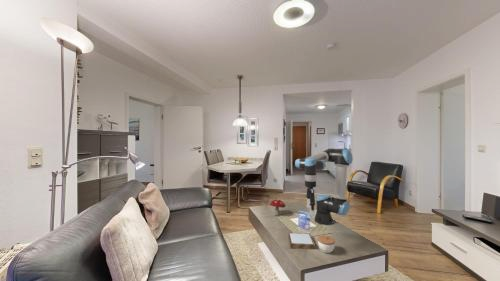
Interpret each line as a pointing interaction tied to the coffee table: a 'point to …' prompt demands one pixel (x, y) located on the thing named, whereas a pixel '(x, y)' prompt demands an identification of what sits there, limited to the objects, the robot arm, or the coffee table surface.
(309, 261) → the coffee table surface
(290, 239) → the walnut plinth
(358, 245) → the coffee table surface
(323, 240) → the lidded jar
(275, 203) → the decorative mushroom
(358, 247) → the coffee table surface
